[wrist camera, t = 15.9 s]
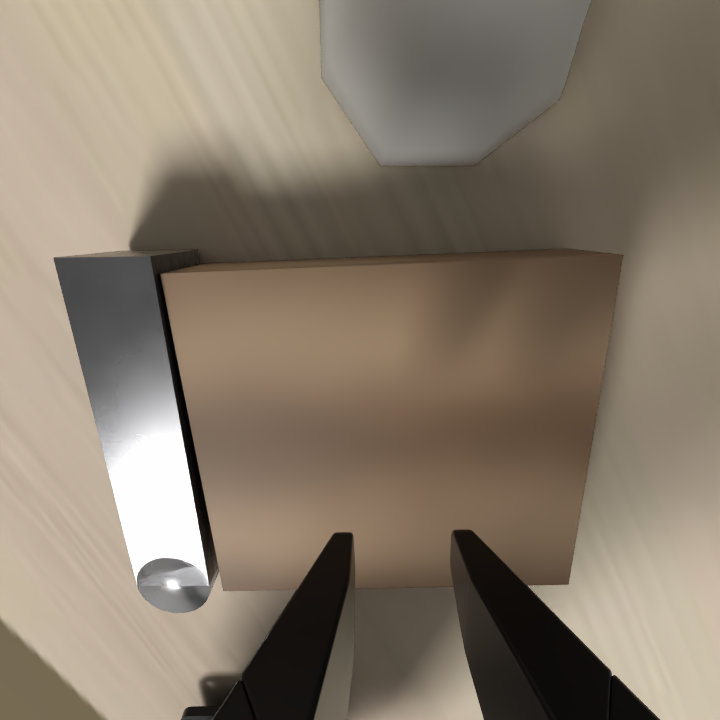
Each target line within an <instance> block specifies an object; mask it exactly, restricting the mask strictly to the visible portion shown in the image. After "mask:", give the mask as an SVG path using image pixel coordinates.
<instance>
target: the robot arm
mask: <svg viewBox="0 0 720 720" xmlns="http://www.w3.org/2000/svg"><path fill="white" fill-rule="evenodd" d="M450 568H451V575H452V581H453V587H454V592H455V598H456V604H457V610H458V615H459V621H460V627H461V633H462V638H463V643H464V648H465V653H466V657H467V661H468V665H469V668H470V672H471V675H472V679H473V682H474V686H475V689H476V693H477V697H478V700H479V704H480V707H481V711H482V714H483V718H484V720H660V719H659V718H658V717H657V716H656V715H655V714H654V713H653V712H652V711H651V710H650V709H649V708H648V707H647V706H646V705H645V704H644V703H643V702H642V701H641V700H640V699H639V698H637V697H636V695H635V694H634V693H633V692H632V691H631V690H630V689H629V688H628V687H627V686H626V685H625V684H624V683H623V682H622V681H621V680H620V679H619V678H618V677H617V676H615V675H613V676H612V673H611V670H610V669H609V668H608V667H607V666H606V665H605V664H604V663H603V662H602V661H601V660H600V659H599V658H598V657H597V656H596V655H595V654H594V653H593V652H592V651H591V650H590V649H589V648H588V647H587V646H586V645H585V644H584V643H583V642H582V641H581V640H580V639H579V638H578V637H577V636H576V635H575V634H574V633H573V632H572V631H571V630H570V629H569V628H568V627H567V626H566V625H565V624H564V623H563V622H562V621H561V620H560V619H559V618H558V617H557V616H556V615H555V614H554V613H553V612H552V611H551V610H550V609H549V607H548V606H547V605H546V604H545V603H544V602H543V601H542V600H541V599H540V598H539V597H538V596H537V595H536V594H535V593H534V592H533V591H532V590H531V589H530V588H529V587H528V586H527V585H526V584H525V583H524V582H523V581H522V580H521V579H520V578H519V577H518V576H517V575H516V574H515V573H514V572H513V571H512V570H511V569H510V568H509V567H508V566H507V565H506V564H505V563H504V562H503V561H502V560H501V559H500V558H499V557H498V556H497V555H496V554H495V553H494V552H493V551H492V550H491V549H490V548H489V547H488V546H487V545H486V544H485V543H484V542H483V541H482V540H481V538H480V537H479V536H478V535H477V534H476V533H475V532H474V531H472V530H470V529H459V530H453V531H452V533H451V549H450ZM354 647H355V552H354V536H353V533H351V532H336V533H334V534H333V535H332V536H331V538H330V539H329V541H328V542H327V544H326V545H325V547H324V549H323V550H322V552H321V553H320V555H319V556H318V558H317V559H316V561H315V562H314V564H313V565H312V567H311V569H310V570H309V572H308V573H307V575H306V576H305V578H304V579H303V581H302V582H301V584H300V585H299V587H298V589H297V590H296V592H295V593H294V595H293V596H292V598H291V599H290V601H289V602H288V604H287V605H286V607H285V609H284V610H283V612H282V613H281V615H280V616H279V618H278V619H277V621H276V622H275V624H274V626H273V627H272V629H271V630H270V632H269V633H268V635H267V636H266V638H265V639H264V641H263V642H262V644H261V646H260V647H259V649H258V650H257V652H256V653H255V655H254V656H253V658H252V659H251V661H250V662H249V664H248V666H247V667H246V669H245V670H244V672H243V673H242V675H241V680H238V681H237V682H236V684H235V685H234V687H233V688H232V690H231V691H230V693H229V694H228V696H227V698H226V699H225V701H224V702H223V704H222V705H221V706H199V707H188V708H186V709H185V710H184V713H183V715H182V718H181V720H347V714H348V706H349V697H350V688H351V680H352V671H353V661H354Z"/></svg>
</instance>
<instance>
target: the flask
mask: <svg viewBox="0 0 720 720" xmlns="http://www.w3.org/2000/svg"><path fill="white" fill-rule="evenodd" d="M591 1H592V0H319V8H320V41H321V75H322V80H323V81H324V83H325V84H326V86H327V87H328V89H329V90H330V92H331V93H332V95H333V96H334V98H335V99H336V101H337V102H338V104H339V105H340V107H341V108H342V110H343V111H344V113H345V114H346V116H347V117H348V119H349V120H350V122H351V123H352V125H353V126H354V128H355V129H356V131H357V132H358V134H359V135H360V136H361V138H362V139H363V141H364V142H365V144H366V145H367V147H368V148H369V150H370V151H371V153H372V154H373V156H374V157H375V159H376V160H377V162H378V163H379V165H380V166H475V165H476V164H478V163H479V162H480V161H481V160H483V159H484V158H485V157H487V156H488V155H489V154H490V153H492V152H493V151H494V150H496V149H497V148H498V147H499V146H501V145H502V144H503V143H505V142H506V141H507V140H508V139H510V138H511V137H512V136H513V135H515V134H516V133H517V132H519V131H520V130H521V129H522V128H524V127H525V126H526V125H528V124H529V123H530V122H531V121H533V120H534V119H535V118H537V117H538V116H539V115H540V114H542V113H543V112H544V111H546V110H547V109H548V108H549V107H551V106H552V105H553V104H555V103H556V102H557V101H558V100H560V97H561V94H562V91H563V89H564V86H565V83H566V80H567V77H568V73H569V70H570V67H571V63H572V60H573V57H574V53H575V50H576V47H577V43H578V40H579V37H580V33H581V30H582V26H583V23H584V20H585V17H586V14H587V12H588V9H589V6H590V3H591Z"/></svg>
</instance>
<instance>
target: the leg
mask: <svg viewBox="0 0 720 720" xmlns="http://www.w3.org/2000/svg"><path fill="white" fill-rule="evenodd" d="M54 262H55V266H56V270H57V274H58V278H59V281H60V285H61V289H62V293H63V297H64V301H65V305H66V309H67V313H68V317H69V321H70V324H71V328H72V332H73V336H74V340H75V344H76V348H77V352H78V356H79V360H80V364H81V368H82V371H83V375H84V379H85V383H86V387H87V391H88V395H89V399H90V403H91V407H92V411H93V414H94V418H95V422H96V426H97V430H98V434H99V438H100V442H101V446H102V450H103V454H104V458H105V461H106V465H107V469H108V473H109V477H110V481H111V485H112V489H113V493H114V497H115V501H116V504H117V508H118V512H119V516H120V520H121V524H122V528H123V532H124V536H125V540H126V544H127V547H128V551H129V555H130V559H131V563H132V567H133V571H134V575H135V579H136V583H137V586H138V589H139V591H140V593H141V595H142V596H143V597H144V598H145V600H147V601H148V602H149V603H150V604H152V605H153V606H155V607H157V608H159V609H161V610H164V611H168V612H173V613H185V612H190V611H193V610H196V609H198V608H199V607H201V606H202V605H203V604H204V603H205V602H206V600H207V599H208V596H209V594H210V592H211V589H212V587H213V585H214V582H215V580H216V578H217V575H218V573H219V567H218V562H217V556H216V551H215V546H214V541H213V536H212V531H211V526H210V521H209V516H208V511H207V506H206V501H205V496H204V491H203V486H202V481H201V476H200V471H199V466H198V461H197V456H196V451H195V446H194V441H193V436H192V431H191V426H190V421H189V416H188V411H187V406H186V401H185V396H184V391H183V386H182V381H181V376H180V371H179V366H178V361H177V356H176V351H175V346H174V341H173V336H172V331H171V326H170V321H169V316H168V311H167V306H166V301H165V296H164V291H163V286H162V281H161V275H160V274H161V273H166V272H170V271H174V270H179V269H183V268H187V267H192V266H196V265H200V263H199V256H198V250H143V251H115V252H105V253H95V254H85V255H75V256H65V257H55V258H54Z"/></svg>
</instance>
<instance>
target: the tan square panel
mask: <svg viewBox="0 0 720 720" xmlns="http://www.w3.org/2000/svg"><path fill="white" fill-rule="evenodd" d="M622 259H623V255H620V254H611V253H602V252H593V251H584V250H575V249H545V250H521V251H497V252H473V253H449V254H424V255H400V256H376V257H352V258H328V259H303V260H279V261H255V262H231V263H207V264H200V265H196V266H192V267H187V268H183V269H179V270H174V271H170V272H166V273H161V274H160V275H161V281H162V286H163V291H164V296H165V301H166V306H167V311H168V316H169V321H170V326H171V331H172V336H173V341H174V346H175V351H176V356H177V361H178V366H179V371H180V376H181V381H182V386H183V391H184V396H185V401H186V406H187V411H188V416H189V421H190V426H191V431H192V436H193V441H194V446H195V451H196V456H197V461H198V466H199V471H200V476H201V481H202V486H203V491H204V496H205V501H206V506H207V511H208V516H209V521H210V526H211V531H212V536H213V541H214V546H215V551H216V556H217V562H218V567H219V572H220V577H221V582H222V587H223V591H254V590H297V589H298V587H299V585H300V584H301V582H302V581H303V579H304V578H305V576H306V575H307V573H308V572H309V570H310V569H311V567H312V565H313V564H314V562H315V561H316V559H317V558H318V556H319V555H320V553H321V552H322V550H323V549H324V547H325V545H326V544H327V542H328V541H329V539H330V538H331V536H332V535H333V534H334V533H336V532H351V533H353V536H354V552H355V589H359V588H411V587H453V581H452V575H451V568H450V549H451V533H452V531H453V530H459V529H470V530H472V531H474V532H475V533H476V534H477V535H478V536H479V537H480V538H481V540H482V541H483V542H484V543H485V544H486V545H487V546H488V547H489V548H490V549H491V550H492V551H493V552H494V553H495V554H496V555H497V556H498V557H499V558H500V559H501V560H502V561H503V562H504V563H505V564H506V565H507V566H508V567H509V568H510V569H511V570H512V571H513V572H514V573H515V574H516V575H517V576H518V577H519V578H520V579H521V580H522V581H523V582H524V583H525V584H526V585H567V584H569V578H570V572H571V566H572V560H573V554H574V548H575V542H576V536H577V530H578V524H579V518H580V512H581V506H582V500H583V494H584V488H585V482H586V476H587V470H588V464H589V458H590V452H591V446H592V440H593V434H594V428H595V422H596V416H597V410H598V404H599V398H600V392H601V386H602V380H603V374H604V368H605V362H606V356H607V350H608V344H609V338H610V332H611V326H612V320H613V314H614V308H615V302H616V296H617V290H618V284H619V277H620V271H621V265H622Z"/></svg>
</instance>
